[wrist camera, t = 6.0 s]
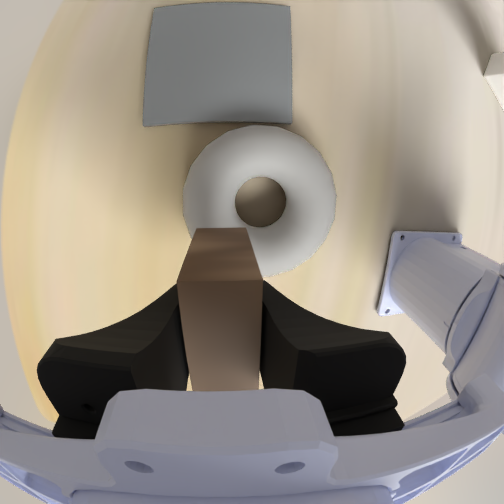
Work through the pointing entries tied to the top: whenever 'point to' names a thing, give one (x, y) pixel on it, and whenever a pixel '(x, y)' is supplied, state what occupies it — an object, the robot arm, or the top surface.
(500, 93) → the milk
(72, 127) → the top surface
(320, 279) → the top surface
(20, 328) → the top surface
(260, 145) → the donut
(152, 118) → the mat
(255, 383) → the tall brown wooden block
